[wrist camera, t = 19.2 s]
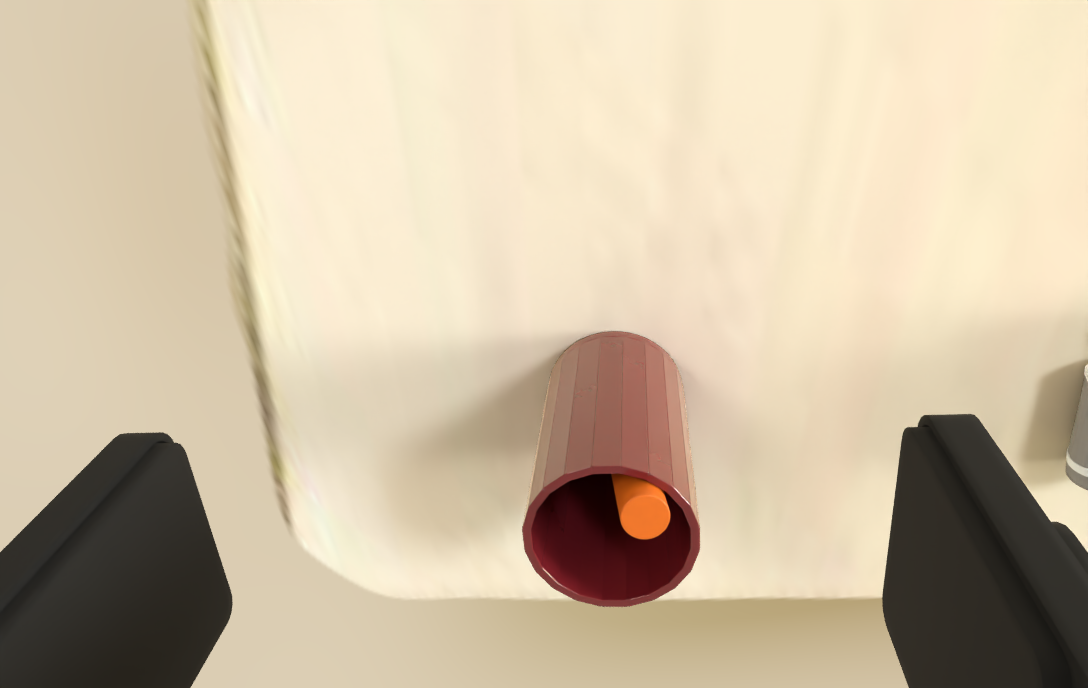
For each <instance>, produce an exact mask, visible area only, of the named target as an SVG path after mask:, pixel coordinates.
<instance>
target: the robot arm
mask: <svg viewBox="0 0 1088 688" xmlns="http://www.w3.org/2000/svg"><path fill="white" fill-rule="evenodd" d="M882 600H883V613H884V618H885V622H886V626H887V629H888V632H889V634H890V637H891V640H892V643H893V645H894V648H895V650H896V654H897V656H898V659H899V662H900V665H901V667H902V670H903V673H904V675H905V678H906V681H907V684H908V686H909V688H1088V552H1087V551H1086V550H1085V548H1084V547H1083V546H1082V544H1081V543H1080V541H1079V540H1078V539H1077V537H1076V536H1075V535H1074V534H1073V533H1072V531H1071V530H1070V529H1069V528H1068V527H1067V526H1066V525H1063V524H1061V523H1058V522H1051V521H1050V520H1049V519H1048V517H1047V516H1046V514H1045V513H1044V511H1043V510H1042V509H1041V507H1040V506H1039V504H1038V503H1037V501H1036V500H1035V499H1034V497H1033V496H1032V494H1031V493H1030V492H1029V490H1028V489H1027V487H1026V486H1025V484H1024V483H1023V482H1022V480H1021V479H1020V477H1019V476H1018V474H1017V473H1016V472H1015V470H1014V469H1013V467H1012V466H1011V464H1010V463H1009V462H1008V460H1007V459H1006V457H1005V456H1004V454H1003V453H1002V452H1001V450H1000V449H999V447H998V446H997V445H996V443H995V442H994V440H993V439H992V437H991V436H990V435H989V433H988V432H987V430H986V429H985V427H984V426H983V425H982V423H981V422H980V420H979V419H978V418H977V417H976V416H975V415H972V414H958V415H924V416H923V417H921V419H920V421H919V423H918V427H907V428H906V429H905V430H904V432H903V436H902V442H901V450H900V458H899V466H898V475H897V483H896V491H895V499H894V507H893V515H892V523H891V531H890V539H889V547H888V555H887V563H886V571H885V579H884V587H883V598H882ZM231 611H232V594H231V590H230V587H229V584H228V581H227V578H226V575H225V572H224V569H223V566H222V562H221V559H220V557H219V553H218V550H217V547H216V544H215V541H214V538H213V535H212V532H211V529H210V526H209V522H208V519H207V516H206V513H205V510H204V507H203V504H202V501H201V498H200V495H199V492H198V489H197V486H196V482H195V479H194V476H193V473H192V470H191V467H190V464H189V461H188V457H187V455H186V452H185V450H184V448H183V447H182V446H181V445H180V444H178V443H174V442H173V440H172V439H171V437H170V436H169V435H167V434H165V433H127V434H120V435H118V436H117V437H115V438H114V439H113V440H112V441H111V442H110V443H109V444H108V445H107V446H106V447H105V448H104V449H103V450H102V451H101V452H100V453H99V454H98V455H97V456H96V457H95V458H94V459H93V460H92V461H91V462H90V463H89V464H88V465H87V466H86V467H85V468H84V469H83V470H82V471H81V472H80V473H79V474H78V475H77V476H76V477H75V478H74V479H73V480H72V481H71V482H70V483H69V484H68V485H67V486H66V487H65V488H64V489H63V490H62V491H61V492H60V493H59V494H58V495H57V496H56V497H55V498H54V499H53V500H52V501H51V502H50V503H49V504H48V505H47V506H46V507H45V508H44V509H43V510H42V511H41V512H40V513H39V514H38V515H37V516H36V517H35V518H34V519H33V520H32V521H31V522H30V523H29V524H28V525H27V526H26V527H25V528H24V529H23V530H22V531H21V532H20V533H19V534H18V535H17V536H16V537H15V538H14V539H13V540H12V541H11V542H10V543H9V544H8V545H7V546H6V547H5V548H4V549H3V550H2V551H1V552H0V688H190V687H191V686H192V684H193V682H194V680H195V679H196V677H197V675H198V674H199V672H200V670H201V668H202V667H203V664H204V663H205V661H206V660H207V658H208V656H209V654H210V652H211V651H212V649H213V647H214V646H215V644H216V642H217V640H218V639H219V637H220V635H221V633H222V632H223V630H224V628H225V626H226V625H227V623H228V621H229V618H230V615H231Z"/></svg>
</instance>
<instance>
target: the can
mask: <svg viewBox="0 0 1088 688" xmlns="http://www.w3.org/2000/svg"><path fill="white" fill-rule="evenodd" d="M611 474H623V475H627V476H631V477H635V478H639V479H643V480H646V481H648V482H650V483H651V484H653V485H655V486H657V487H658V488H660V489H662V490H663V491H664V494H665V497H666V500H667V504H668V507H669V510H670V521H669V524H668V526H667V528H666V529H665V530H664V532H662V533H661V534H660V535H658V536H657V537H654V538H651V539H638V538H635V537H632V536H631V535H629V534H628V533H627V532H626V531H625V530H624V529H623V527H622V525H621V522H620V517H619V512H618V506H617V501H616V496H615V491H614V486H613V481H612V476H611ZM522 533H523V541H524V550H525V552H526V554H527V556H528V558H529V560H530V562H531V564H532V566H533V568H534V570H535V571H536V572H537V573H538V574H539V575H540V576H541V577H542V578H543V579H544V580H545V581H546V582H547V583H548V584H549V585H550V586H551V587H552V588H554V589H555V590H557V591H559V592H561V593H563V594H565V595H567V596H568V597H570V598H572V599H574V600H577V601H581V602H585V603H589V604H593V605H597V606H603V607H605V606H606V607H627V606H632V605H636V604H641V603H645V602H649V601H652V600H655V599H657V598H658V597H660V596H662V595H664V594H666V593H667V592H669V591H671V590H673V589H674V588H676V587H677V586H678V584H679V583H680V582H681V581H682V580H683V579H684V578H685V577H686V576H687V575H688V574H689V573H690V572H691V570H692V568H693V565H694V563H695V561H696V558H697V556H698V553H699V551H700V525H699V516H698V508H697V499H696V491H695V482H694V474H693V465H692V457H691V448H690V440H689V431H688V423H687V414H686V406H685V397H684V389H683V384H682V380H681V376H680V373H679V371H678V368H677V366H676V364H675V363H674V361H673V360H672V358H671V357H670V356H669V355H668V353H667V352H665V351H664V350H663V349H662V348H661V347H660V346H658V345H657V344H656V343H654V342H652V341H650V340H649V339H647V338H644V337H642V336H639V335H636V334H632V333H627V332H615V331H611V332H602V333H597V334H593V335H591V336H588V337H585V338H583V339H581V340H579V341H577V342H576V343H574V344H573V345H571V346H570V347H569V348H568V349H567V350H565V351H564V353H563V354H562V355H561V356H560V357H559V359H558V360H557V362H556V363H555V365H554V367H553V370H552V372H551V376H550V379H549V384H548V388H547V393H546V398H545V404H544V409H543V415H542V420H541V426H540V432H539V437H538V443H537V448H536V454H535V459H534V465H533V471H532V476H531V482H530V487H529V493H528V498H527V504H526V510H525V515H524V521H523V526H522Z"/></svg>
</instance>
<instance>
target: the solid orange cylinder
mask: <svg viewBox="0 0 1088 688" xmlns="http://www.w3.org/2000/svg"><path fill="white" fill-rule="evenodd" d="M611 476H612V481H613V486H614V491H615V496H616V501H617V506H618V512H619V517H620V522H621V525H622V527H623V529H624V530H625V531H626V532H627V533H628V534H629V535H631V536H632V537H635V538H638V539H651V538H654V537H657V536H658V535H660V534H661V533H662V532H664V530H665V529H666V528H667V526H668V524H669V521H670V510H669V507H668V504H667V500H666V497H665V494H664V491H663V490H662V489H660V488H658V487H657V486H655V485H653V484H651V483H650V482H648V481H646V480H643V479H639V478H635V477H631V476H627V475H623V474H611Z"/></svg>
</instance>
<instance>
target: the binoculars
mask: <svg viewBox="0 0 1088 688" xmlns="http://www.w3.org/2000/svg"><path fill="white" fill-rule="evenodd" d="M1084 375H1085V378H1084V382H1083V387H1082V392H1081V396H1080V401H1079V405H1078V410H1077V414H1076V418H1075V423H1074V427H1073V431H1072V435H1071V439H1070V443H1069V447H1068V449H1067V456H1066V474H1067V476H1068V477H1069V479H1070V480H1071V481H1072V482H1074V483H1075V484H1076V485H1078V486H1080V487H1082V488H1084V489H1086V490H1088V364H1087V365H1086V366H1085V372H1084Z"/></svg>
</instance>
